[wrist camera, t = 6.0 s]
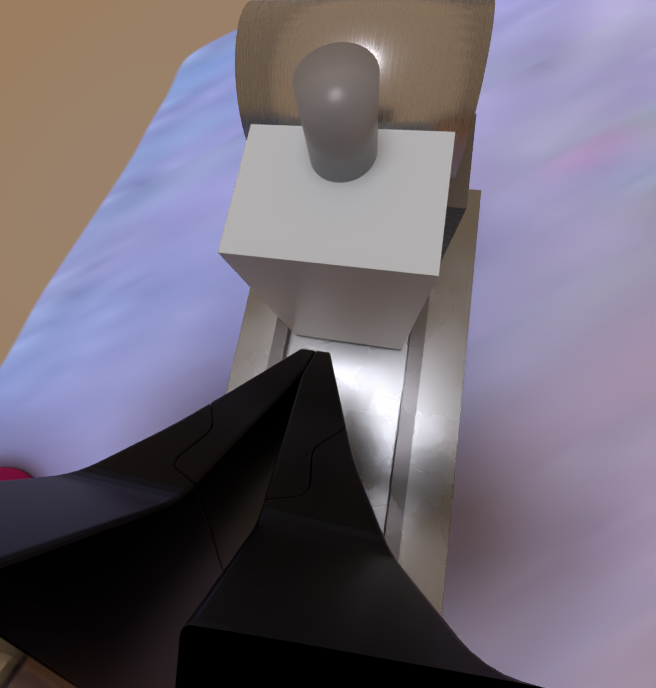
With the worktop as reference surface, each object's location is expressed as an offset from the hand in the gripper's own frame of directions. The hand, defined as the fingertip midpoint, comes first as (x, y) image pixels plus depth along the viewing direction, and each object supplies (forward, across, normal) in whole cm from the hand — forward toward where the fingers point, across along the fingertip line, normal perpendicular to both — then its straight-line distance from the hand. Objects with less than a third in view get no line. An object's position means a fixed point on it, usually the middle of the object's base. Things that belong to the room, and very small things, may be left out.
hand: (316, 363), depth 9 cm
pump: (+8, 0, +2) cm, 8 cm away
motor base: (+8, 0, +5) cm, 9 cm away
